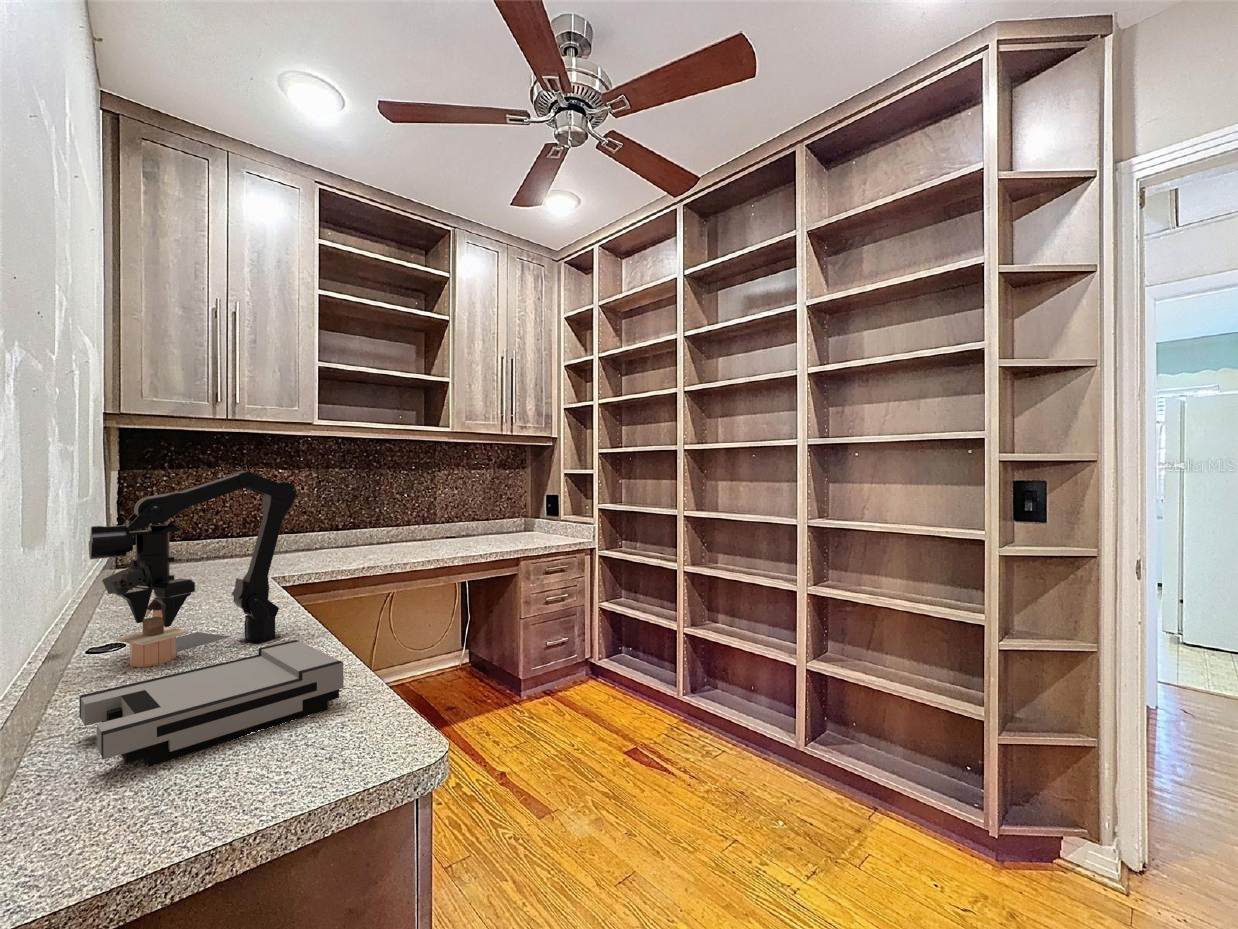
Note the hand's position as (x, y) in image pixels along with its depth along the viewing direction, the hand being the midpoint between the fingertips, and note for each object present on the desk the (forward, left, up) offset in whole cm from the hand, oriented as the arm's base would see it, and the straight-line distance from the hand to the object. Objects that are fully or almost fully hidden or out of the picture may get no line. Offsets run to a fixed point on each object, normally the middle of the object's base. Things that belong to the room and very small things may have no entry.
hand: (153, 624), depth 125 cm
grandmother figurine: (+22, -15, -8) cm, 28 cm away
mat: (+7, -12, -8) cm, 16 cm away
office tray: (-43, +16, -9) cm, 46 cm away
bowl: (0, 0, -8) cm, 8 cm away
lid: (0, 0, -3) cm, 3 cm away
